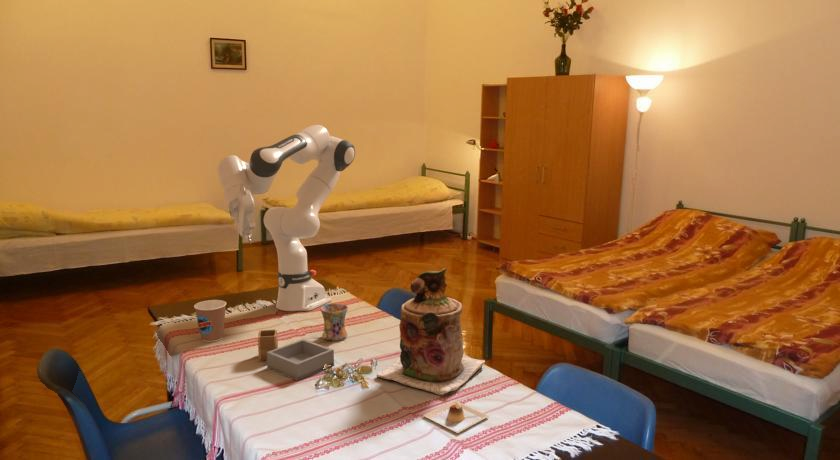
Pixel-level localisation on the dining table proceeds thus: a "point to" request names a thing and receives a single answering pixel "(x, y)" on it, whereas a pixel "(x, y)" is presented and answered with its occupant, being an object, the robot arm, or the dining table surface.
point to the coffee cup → (211, 319)
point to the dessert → (456, 413)
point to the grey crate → (300, 359)
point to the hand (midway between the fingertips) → (252, 234)
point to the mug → (334, 321)
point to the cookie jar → (431, 339)
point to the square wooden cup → (266, 343)
